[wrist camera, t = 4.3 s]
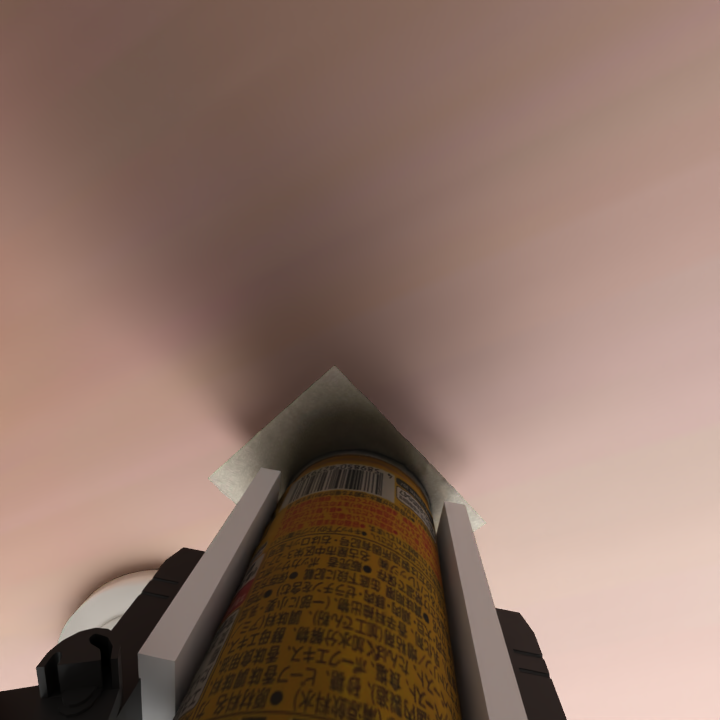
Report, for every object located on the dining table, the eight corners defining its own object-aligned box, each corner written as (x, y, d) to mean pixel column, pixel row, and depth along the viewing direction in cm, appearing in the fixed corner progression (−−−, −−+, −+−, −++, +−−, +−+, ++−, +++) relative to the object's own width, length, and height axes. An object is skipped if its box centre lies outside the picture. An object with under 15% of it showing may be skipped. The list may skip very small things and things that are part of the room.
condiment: (350, 606, 16) (224, 1586, 4) (209, 475, 14) (-517, 1302, 3) (485, 518, 14) (949, 1818, 2) (336, 362, 13) (-241, 1316, 1)
